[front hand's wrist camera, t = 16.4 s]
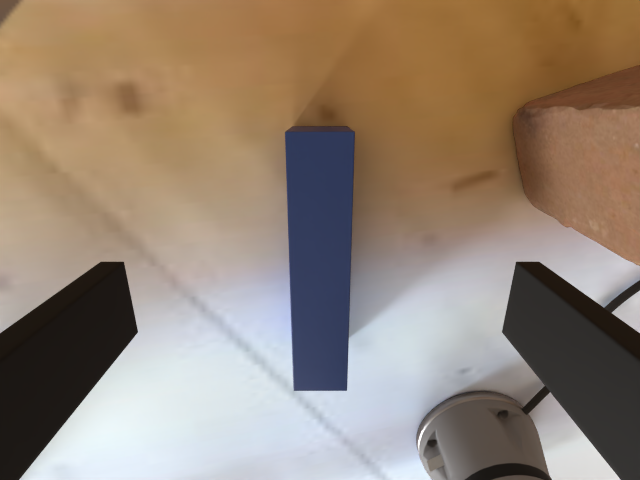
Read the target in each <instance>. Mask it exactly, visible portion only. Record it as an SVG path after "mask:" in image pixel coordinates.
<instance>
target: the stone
mask: <svg viewBox="0 0 640 480" xmlns="http://www.w3.org/2000/svg"><path fill="white" fill-rule="evenodd" d="M513 133H514V138H515V143H516V148H517V158H518V162H519V168H520V172H521V176H522V181H523V187H524V191H525V195H526V196H527V198H528V199H529V201H530V202H531V203H532V205H533V206H534V207H536V208H538V209H539V210H541V211H543V212H544V213H546V214H548V215H550V216H552V217H554V218H555V219H557V220H558V221H559V222H560V223H561V224H562V225H563V226H565V227H572V228H574V229H575V230H576V231H578V232H580V233H581V234H583V235H585V236H587V237H588V238H590V239H592V240H594V241H596V242H597V243H599V244H601V245H602V246H604V247H606V248H607V249H609V250H611V251H612V252H614V253H616V254H618V255H619V256H621V257H623V258H624V259H626V260H628V261H631V262H633V263H635V264H636V265H639V266H640V65H639V66H635V67H632V68H629V69H626V70H622V71H619V72H616V73H613V74H610V75H607V76H604V77H601V78H598V79H595V80H592V81H589V82H586V83H583V84H579V85H576V86H574V87H571V88H569V89H566V90H563V91H560V92H557V93H554V94H551V95H548V96H545V97H542V98H539V99H536V100H533V101H530V102H528V103H526V105H525V106H524V107H523V108H520V109H518V112H517V114H516V115H515V116H514V117H513Z"/></svg>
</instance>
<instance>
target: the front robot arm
mask: <svg viewBox="0 0 640 480" xmlns="http://www.w3.org/2000/svg"><path fill="white" fill-rule="evenodd" d="M639 290H640V281H638V282H637V283H635V284H634V285H632V286H631V287H629V288H628V289H626V290H625V291H624V292H622V293H621V294H620V295H619V296H617V297H616V298H615V299H614V300H612V301H611V302H610V303H609V304H608V305H607V306H606V307H605V308H603V307H602V306H600V305H599V304H598V303H596V302H595V301H593V300H592V299H591V298H589V297H588V296H586V295H585V294H584V293H582V292H581V291H579V290H578V289H577V288H575V287H574V286H572V285H571V284H570V283H568V282H567V281H565V280H564V279H563V278H561V277H560V276H558V275H557V274H555V273H554V272H553V271H551V270H550V269H548V268H547V267H546V266H544V265H543V264H541V263H540V262H516V265H515V270H514V275H513V280H512V285H511V290H510V295H509V300H508V305H507V310H506V315H505V320H504V325H503V330H502V333H503V334H504V335H505V336H506V338H507V339H508V340H509V341H510V343H511V344H512V345H513V346H514V348H515V349H516V350H517V351H518V352H519V354H520V355H521V356H522V357H523V359H524V360H525V361H526V362H527V364H528V365H529V366H530V367H531V369H532V370H533V371H534V372H535V374H536V375H537V376H538V377H539V379H540V380H541V381H542V382H543V384H544V385H545V386H544V387H543V388H542V389H541V390H540V391H539V392H538V393H537V394H536V395H535V396H534V397H533V398H532V399H531V400H530V401H529V402H528V403H527V404H526V405H525V406H524V407H522V406H521V405H520V404H519V403H518V402H517V401H515V400H514V399H512V398H510V397H508V396H505V395H502V394H499V393H494V392H470V393H465V394H461V395H457V396H455V397H452V398H450V399H448V400H446V401H444V402H442V403H440V404H439V405H437V406H436V407H435V408H434V409H432V410H431V411H430V412H429V413H428V414H427V415H426V417H425V418H424V419H423V421H422V423H421V424H420V426H419V429H418V432H417V438H416V443H417V449H418V452H419V456H420V459H421V462H422V464H423V466H424V468H425V470H426V472H427V473H428V475H429V476H430V478H431V479H432V480H552V479H551V478H550V476H549V473H548V469H547V465H546V461H545V458H544V454H543V450H542V446H541V442H540V438H539V435H538V431H537V429H536V427H535V425H534V423H533V421H532V419H531V418H530V416H529V415H528V413H529V412H530V411H531V410H532V409H533V408H534V407H535V406H536V405H537V404H538V403H539V402H540V401H541V400H542V399H543V398H544V397H545V396H546V395H547V394H549V393H550V392H551V393H552V395H553V396H554V397H555V398H556V400H557V401H558V402H559V403H560V405H561V406H562V407H563V408H564V410H565V411H566V412H567V413H568V415H569V416H570V417H571V418H572V420H573V421H574V422H575V423H576V424H577V426H578V427H579V428H580V429H581V431H582V432H583V433H584V434H585V436H586V437H587V438H588V439H589V441H590V442H591V443H592V444H593V446H594V447H595V448H596V449H597V451H598V452H599V453H600V454H601V456H602V457H603V458H604V459H605V460H606V462H607V463H608V464H609V465H610V467H611V468H612V469H613V470H614V472H615V473H616V474H617V475H618V477H619V478H620V479H621V480H640V333H638V332H637V331H636V330H634V329H633V328H631V327H630V326H629V325H627V324H626V323H624V322H623V321H622V320H620V319H619V318H617V317H616V316H615V315H613V314H612V312H613V311H614V310H615V309H616V308H617V307H618V306H620V305H621V304H622V303H623V302H624V301H626V300H627V299H628V298H630V297H631V296H632V295H634V294H635V293H637V292H638V291H639ZM137 333H138V330H137V325H136V320H135V315H134V310H133V305H132V300H131V295H130V290H129V285H128V280H127V275H126V270H125V265H124V262H100V263H99V264H97V265H96V266H94V267H93V268H92V269H90V270H89V271H87V272H86V273H85V274H83V275H82V276H80V277H79V278H77V279H76V280H75V281H73V282H72V283H70V284H69V285H68V286H66V287H65V288H63V289H62V290H61V291H59V292H58V293H56V294H55V295H54V296H52V297H51V298H49V299H48V300H47V301H45V302H44V303H42V304H41V305H39V306H38V307H37V308H35V309H34V310H32V311H31V312H30V313H28V314H27V315H25V316H24V317H23V318H21V319H20V320H18V321H17V322H16V323H14V324H13V325H11V326H10V327H9V328H7V329H6V330H4V331H3V332H2V333H0V480H19V479H20V478H21V477H22V475H23V474H24V473H25V472H26V470H27V469H28V468H29V467H30V465H31V464H32V463H33V462H34V460H35V459H36V458H37V457H38V456H39V454H40V453H41V452H42V451H43V449H44V448H45V447H46V446H47V444H48V443H49V442H50V441H51V439H52V438H53V437H54V436H55V434H56V433H57V432H58V431H59V429H60V428H61V427H62V426H63V424H64V423H65V422H66V421H67V420H68V418H69V417H70V416H71V415H72V413H73V412H74V411H75V410H76V408H77V407H78V406H79V405H80V403H81V402H82V401H83V400H84V398H85V397H86V396H87V395H88V393H89V392H90V391H91V390H92V388H93V387H94V386H95V385H96V384H97V382H98V381H99V380H100V379H101V377H102V376H103V375H104V374H105V372H106V371H107V370H108V369H109V367H110V366H111V365H112V364H113V362H114V361H115V360H116V359H117V357H118V356H119V355H120V354H121V352H122V351H123V350H124V349H125V348H126V346H127V345H128V344H129V343H130V341H131V340H132V339H133V338H134V336H135V335H136V334H137Z"/></svg>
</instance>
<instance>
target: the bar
mask: <svg viewBox="0 0 640 480" xmlns="http://www.w3.org/2000/svg"><path fill="white" fill-rule="evenodd" d="M354 141H355V132H354V131H353V130H351V129H350V128H349V127H347V126H293V127H291V128H290V129H289V130H287V131H286V132H285V142H286V173H287V203H288V234H289V265H290V296H291V326H292V357H293V388H294V391H347V371H348V338H349V305H350V273H351V240H352V207H353V174H354Z"/></svg>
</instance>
